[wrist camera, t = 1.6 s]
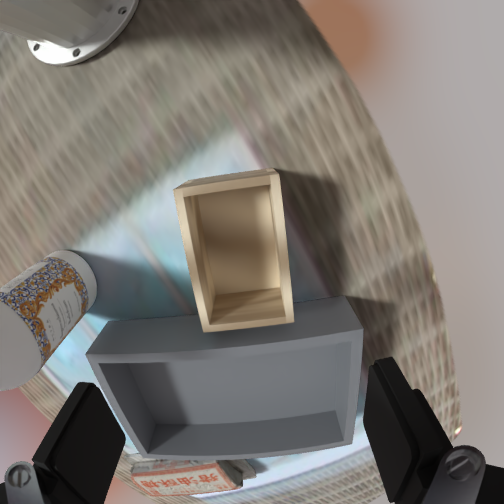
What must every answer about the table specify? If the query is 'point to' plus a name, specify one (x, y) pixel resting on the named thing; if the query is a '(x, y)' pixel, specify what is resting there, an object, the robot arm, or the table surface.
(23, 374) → the bath foam
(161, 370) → the charcoal crate
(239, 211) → the pine crate
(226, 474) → the packaged product
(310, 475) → the table surface
